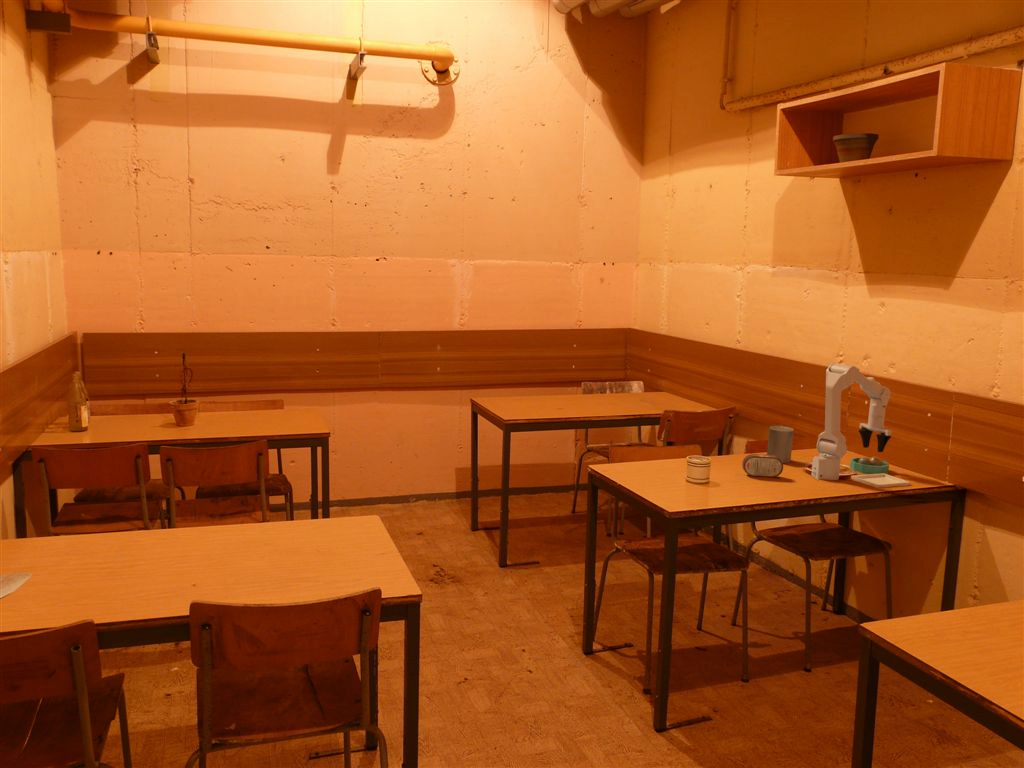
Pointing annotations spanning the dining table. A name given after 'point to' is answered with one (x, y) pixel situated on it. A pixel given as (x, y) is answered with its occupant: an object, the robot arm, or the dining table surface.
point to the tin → (762, 465)
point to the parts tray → (880, 480)
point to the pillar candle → (780, 442)
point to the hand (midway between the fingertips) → (873, 449)
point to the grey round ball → (864, 461)
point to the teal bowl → (869, 467)
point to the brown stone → (876, 461)
